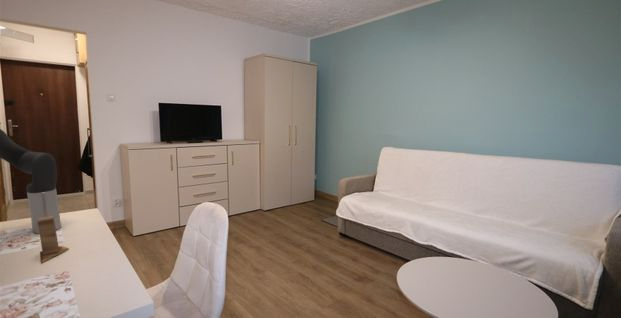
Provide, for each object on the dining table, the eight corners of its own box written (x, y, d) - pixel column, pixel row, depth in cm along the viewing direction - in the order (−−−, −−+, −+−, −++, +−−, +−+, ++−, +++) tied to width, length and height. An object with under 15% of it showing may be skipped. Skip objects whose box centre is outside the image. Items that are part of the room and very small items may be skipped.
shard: (41, 265, 103) (40, 260, 103) (21, 264, 104) (20, 259, 104) (70, 251, 114) (69, 246, 113) (51, 249, 114) (50, 245, 114)
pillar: (44, 250, 110) (38, 218, 108) (58, 247, 112) (53, 216, 110) (43, 254, 107) (37, 221, 105) (57, 251, 109) (52, 219, 107)
